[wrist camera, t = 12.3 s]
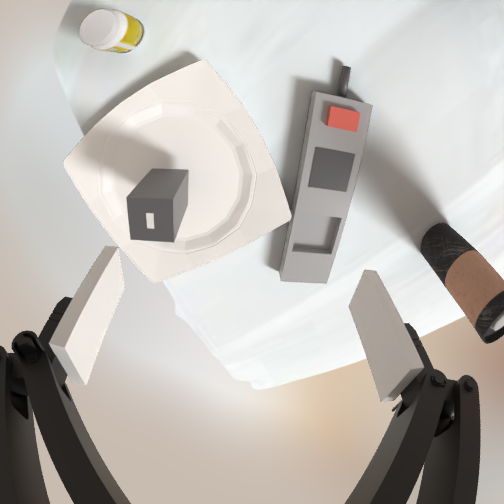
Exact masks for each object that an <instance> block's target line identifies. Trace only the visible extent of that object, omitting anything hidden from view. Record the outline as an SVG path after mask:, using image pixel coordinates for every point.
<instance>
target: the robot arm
mask: <svg viewBox="0 0 504 504" xmlns="http://www.w3.org/2000/svg"><path fill="white" fill-rule="evenodd" d="M124 288H125V285H124V280H123V274H122V269H121V262H120V255H119V249H118V247H113V246H105V247H104V249H103V250H102V252H101V254H100V255H99V256H98V258H97V259H96V261H95V262H94V264H93V266H92V267H91V269H90V270H89V272H88V274H87V275H86V277H85V279H84V280H83V282H82V283H81V285H80V287H79V289H78V290H77V292H76V294H75V296H74V297H73V298H69V297H64V298H63V299H62V300H61V301H60V302H58V303H57V305H56V307H55V308H54V310H53V313H52V314H51V315H50V317H49V320H48V321H47V322H46V324H45V326H44V328H43V330H42V331H41V334H40V335H39V337H37V335H36V334H35V333H34V332H32V331H23V332H21V333H19V334H18V335H17V336H16V337H15V338H14V339H13V342H12V350H13V351H14V353H7V352H6V351H5V349H4V348H3V347H2V346H0V504H50V502H49V498H48V495H47V491H46V487H45V483H44V479H43V475H42V471H41V465H40V461H39V455H38V449H37V443H36V436H35V428H34V419H33V412H34V415H35V418H36V420H37V424H38V426H39V429H40V432H41V435H42V437H43V440H44V442H45V445H46V447H47V450H48V452H49V454H50V457H51V459H52V461H53V463H54V465H55V468H56V470H57V472H58V474H59V476H60V478H61V480H62V482H63V484H64V486H65V488H66V490H67V492H68V493H69V495H70V497H71V499H72V501H73V503H74V504H131V503H130V502H129V500H128V499H127V497H126V496H125V494H124V493H123V492H122V490H121V489H120V487H119V486H118V484H117V483H116V481H115V480H114V478H113V476H112V475H111V473H110V471H109V470H108V468H107V466H106V465H105V463H104V461H103V460H102V458H101V456H100V455H99V453H98V451H97V449H96V447H95V445H94V443H93V442H92V440H91V438H90V436H89V434H88V432H87V430H86V428H85V426H84V424H83V421H82V420H81V417H80V415H79V413H78V411H77V408H76V406H75V404H74V402H73V399H72V397H71V395H70V392H69V389H68V387H67V385H66V383H65V380H66V377H67V375H68V377H69V378H70V380H71V382H74V383H78V384H81V385H85V386H86V385H87V382H88V379H89V376H90V373H91V370H92V367H93V365H94V362H95V359H96V357H97V353H98V351H99V349H100V346H101V343H102V341H103V338H104V336H105V333H106V331H107V328H108V326H109V323H110V321H111V318H112V316H113V314H114V311H115V309H116V307H117V304H118V302H119V300H120V297H121V295H122V293H123V291H124ZM349 309H350V311H351V314H352V317H353V320H354V322H355V325H356V328H357V331H358V333H359V336H360V339H361V342H362V345H363V348H364V351H365V354H366V357H367V360H368V363H369V366H370V369H371V372H372V375H373V378H374V381H375V384H376V387H377V391H378V394H379V397H380V401H381V402H387V401H393V400H395V399H396V398H397V397H398V396H399V394H401V397H402V400H401V401H400V402H399V403H398V404H397V405H396V406H395V407H394V408H393V409H392V411H394V410H395V409H396V411H395V414H394V416H393V418H392V420H391V423H390V425H389V427H388V429H387V431H386V433H385V435H384V437H383V439H382V441H381V443H380V445H379V447H378V449H377V451H376V453H375V455H374V456H373V458H372V460H371V462H370V464H369V465H368V467H367V469H366V470H365V472H364V474H363V476H362V477H361V479H360V481H359V482H358V484H357V486H356V487H355V489H354V490H353V492H352V493H351V495H350V496H349V498H348V499H347V501H346V502H345V504H406V503H407V501H408V498H409V496H410V494H411V492H412V490H413V488H414V485H415V483H416V481H417V479H418V477H419V474H420V472H421V469H422V467H423V465H424V470H423V475H422V480H421V485H420V490H419V495H418V499H417V503H416V504H475V501H476V495H477V486H478V477H479V464H480V463H479V462H480V404H479V391H478V385H477V383H476V381H475V380H474V379H473V378H472V377H471V376H468V375H464V376H462V377H461V378H460V379H459V380H458V381H455V380H449V379H447V378H446V376H445V375H444V374H443V373H442V372H441V371H439V370H436V369H434V368H433V366H432V364H431V362H430V360H429V358H428V355H427V353H426V351H425V349H424V347H423V346H422V343H421V341H420V340H419V337H418V335H417V333H416V331H415V329H414V328H413V327H412V326H411V325H410V324H409V323H403V321H402V319H401V317H400V315H399V313H398V311H397V309H396V307H395V305H394V303H393V301H392V299H391V297H390V295H389V294H388V292H387V290H386V288H385V286H384V284H383V282H382V281H381V279H380V277H379V275H378V273H377V272H376V271H373V270H364V272H363V274H362V277H361V279H360V281H359V284H358V286H357V288H356V291H355V293H354V295H353V298H352V300H351V302H350V304H349ZM424 462H425V463H424Z"/></svg>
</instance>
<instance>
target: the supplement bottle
mask: <svg viewBox="0 0 504 504" xmlns="http://www.w3.org/2000/svg"><path fill="white" fill-rule="evenodd" d="M144 34H145V29H144V26H143V24H142V23H141V22H140V21H139V20H137V19H135V18H133V17H131V16H129V15H127V14H125V13H123V12H121V11H118V10H106V9H99V10H95V11H93V12H92V13H90V14H89V15H88V16H86V18H85V19H84V20H83V22H82V24H81V26H80V29H79V36H80V39H81V40H82V42H84V43H85V44H87V45H90V46H91V47H92V48H94V49H97V50H103V51H110V52H117V53H127V52H130V51H132V50H134V49H135V48H136V47H138V46H139V45H140V43H141V42H142V40H143V38H144Z"/></svg>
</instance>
